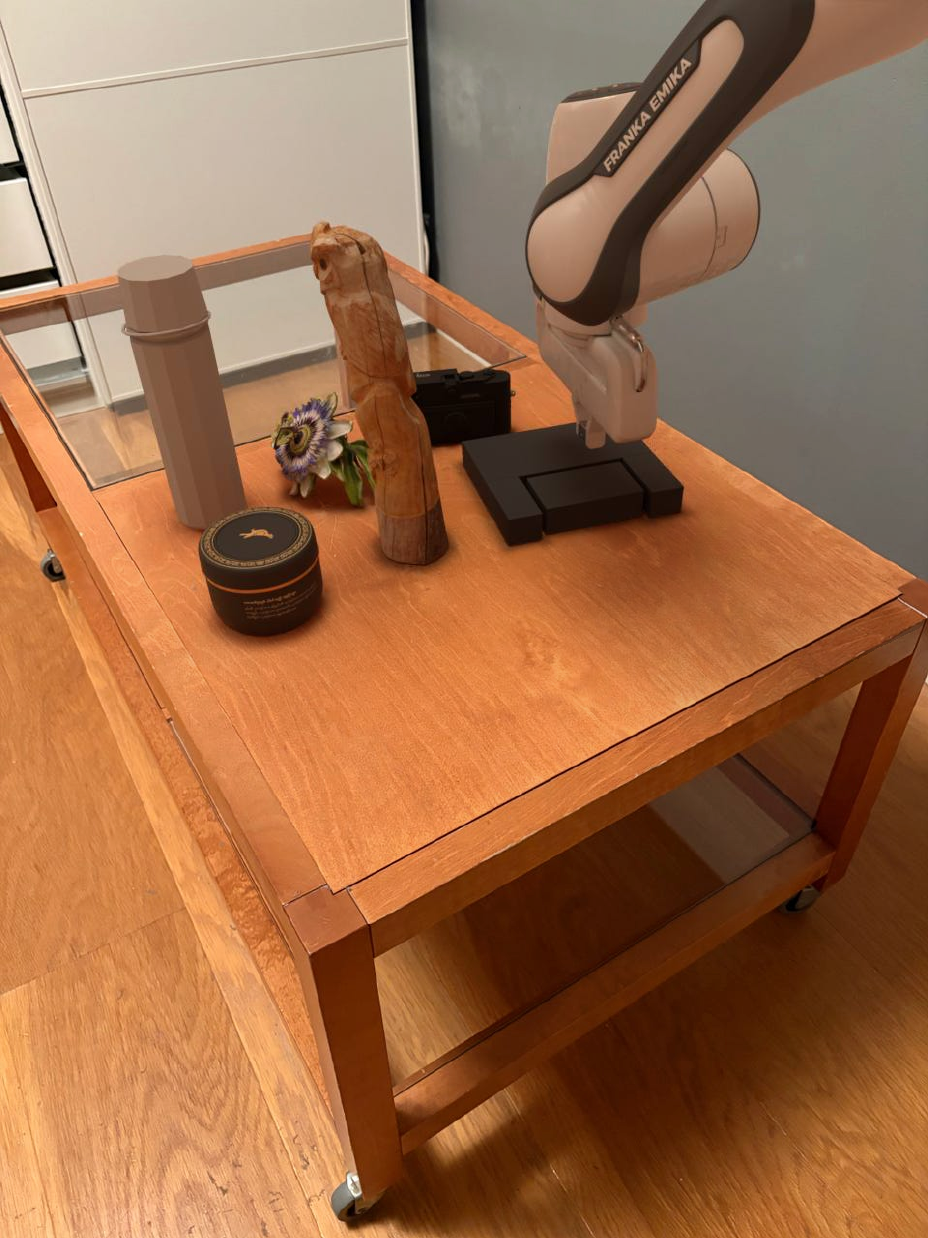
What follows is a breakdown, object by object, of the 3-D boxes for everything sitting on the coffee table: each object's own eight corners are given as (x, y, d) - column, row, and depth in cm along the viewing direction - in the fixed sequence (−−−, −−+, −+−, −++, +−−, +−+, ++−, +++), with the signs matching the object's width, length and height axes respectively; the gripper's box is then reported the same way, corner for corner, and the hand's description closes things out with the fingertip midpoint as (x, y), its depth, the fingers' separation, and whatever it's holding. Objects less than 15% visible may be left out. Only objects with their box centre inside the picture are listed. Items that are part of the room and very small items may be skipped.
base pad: (617, 438, 106) (618, 414, 104) (681, 512, 94) (684, 486, 92) (462, 466, 102) (461, 441, 101) (508, 546, 90) (508, 520, 89)
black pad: (617, 486, 98) (619, 461, 96) (641, 516, 94) (644, 490, 92) (526, 503, 96) (526, 477, 94) (546, 535, 92) (546, 509, 90)
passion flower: (306, 536, 103) (241, 441, 100) (381, 483, 107) (320, 390, 104) (342, 525, 93) (270, 419, 90) (423, 466, 97) (357, 363, 94)
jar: (208, 586, 87) (190, 516, 82) (315, 564, 89) (304, 494, 85) (221, 653, 80) (202, 581, 75) (337, 627, 82) (326, 555, 77)
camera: (507, 410, 112) (507, 346, 107) (519, 439, 107) (518, 373, 101) (387, 422, 111) (381, 357, 106) (392, 452, 105) (386, 385, 100)
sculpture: (347, 537, 93) (303, 218, 74) (440, 522, 94) (420, 206, 75) (356, 576, 88) (310, 244, 69) (454, 560, 89) (437, 231, 70)
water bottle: (263, 518, 96) (213, 269, 80) (188, 544, 93) (121, 290, 77) (230, 480, 102) (177, 242, 86) (159, 503, 99) (91, 260, 83)
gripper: (684, 335, 74) (668, 488, 83) (587, 256, 89) (582, 392, 98) (609, 347, 73) (601, 501, 81) (523, 265, 88) (524, 402, 97)
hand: (590, 441), depth 90 cm, fingers closed
